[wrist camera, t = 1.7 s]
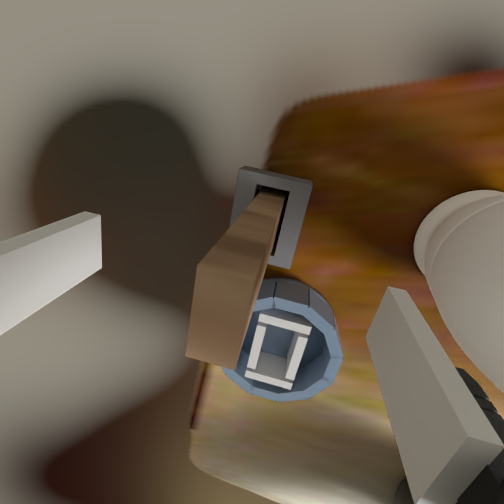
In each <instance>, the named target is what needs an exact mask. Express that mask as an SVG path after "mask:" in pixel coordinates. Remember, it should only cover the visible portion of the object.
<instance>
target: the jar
mask: <svg viewBox="0 0 504 504" xmlns="http://www.w3.org/2000/svg"><path fill="white" fill-rule="evenodd" d="M414 257H415V260H416V263H417V265H418V267H419V269H420V271H421V272H422V273H423V274H424V275H425V277H426V280H427V283H428V286H429V289H430V291H431V293H432V296H433V298H434V300H435V303H436V305H437V308H438V310H439V312H440V315H441V317H442V319H443V321H444V323H445V325H446V326H447V328H448V330H449V331H450V333H451V335H452V336H453V338H454V339H455V341H456V342H457V343H458V345H459V346H460V348H461V349H462V350H463V351H464V353H465V354H466V355H467V356H468V358H469V359H470V360H471V361H472V362H473V363H474V364H475V366H476V367H477V368H478V369H479V370H480V371H481V372H482V373H483V374H484V375H485V376H486V377H487V378H488V379H489V380H490V381H491V382H492V383H493V384H494V385H495V386H496V387H497V388H498V389H499V390H500V391H502V392H503V393H504V192H500V191H494V190H475V191H469V192H465V193H462V194H459V195H456V196H453V197H451V198H449V199H447V200H445V201H444V202H442V203H441V204H439V205H438V206H437V207H435V208H434V209H433V210H432V211H431V212H430V213H429V214H428V215H427V216H426V217H425V219H424V220H423V221H422V223H421V224H420V226H419V228H418V230H417V233H416V236H415V240H414Z"/></svg>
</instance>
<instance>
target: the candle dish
mask: <svg viewBox="0 0 504 504" xmlns="http://www.w3.org/2000/svg"><path fill="white" fill-rule="evenodd" d="M342 361H343V351H342V345H341V339H340V334H339V330H338V327H337V323H336V317H335V314H334V311H333V309H332V307H331V306H330V304H329V302H328V301H327V300H326V298H325V297H324V296H323V295H322V294H321V293H320V292H318V291H317V290H316V289H314V288H313V287H311V286H310V285H308V284H306V283H303V282H301V281H298V280H295V279H291V278H286V277H269V278H263V280H262V283H261V287H260V290H259V293H258V296H257V300H256V303H255V306H254V309H253V312H252V316H251V319H250V322H249V325H248V329H247V332H246V335H245V338H244V342H243V345H242V348H241V351H240V354H239V358H238V361H237V364H236V367H235V370H232V369H228V368H225V367H222V369H223V371H224V373H225V374H226V376H228V377H229V378H230V379H231V380H232V381H234V382H235V383H236V384H237V385H239V386H240V387H241V388H242V389H244V390H245V391H246V392H247V393H248V392H249V394H253V395H256V396H259V397H263V398H266V399H270V400H273V401H276V402H278V401H279V402H284V401H293V400H303V399H308V398H311V397H313V396H314V395H316V394H317V393H319V392H320V391H322V390H324V389H325V388H327V387H328V386H330V385H331V384H333V383H334V380H335V378H336V375H337V373H338V370H339V368H340V366H341V363H342ZM332 382H333V383H332Z"/></svg>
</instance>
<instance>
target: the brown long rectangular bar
mask: <svg viewBox="0 0 504 504" xmlns="http://www.w3.org/2000/svg"><path fill="white" fill-rule="evenodd" d="M285 197H286V194H285V193H280V192H276V191H272V190H267V189H262V190H261V191H260V193H259V194H258V195H257V196H256V197H255V198H254V200H253V201H252V202H251V203H250V204H249V205H248V207H247V208H246V209H245V210H244V211H243V212H242V214H241V215H240V216H239V217H238V218H237V220H236V221H235V222H234V223H233V224H232V225H231V227H230V228H229V229H228V230H227V231H226V232H225V234H224V235H223V236H222V237H221V238H220V239H219V241H218V242H217V243H216V244H215V245H214V246H213V248H212V249H211V250H210V251H209V252H208V254H207V255H206V256H205V257H204V258H203V259H202V261H201V262H200V263H199V264H198V265H197V271H196V278H195V286H194V293H193V301H192V309H191V316H190V324H189V332H188V340H187V347H186V354H185V356H186V357H190V358H193V359H197V360H200V361H204V362H207V363H211V364H214V365H218V366H221V367H225V368H228V369H232V370H235V367H236V364H237V361H238V358H239V354H240V351H241V348H242V345H243V342H244V338H245V335H246V332H247V329H248V325H249V322H250V319H251V316H252V312H253V309H254V306H255V303H256V300H257V296H258V293H259V290H260V287H261V283H262V280H263V277H264V274H265V270H266V267H267V264H268V261H269V257H270V254H271V251H272V248H273V245H274V241H275V238H276V234H277V230H278V226H279V222H280V217H281V213H282V209H283V205H284V201H285Z"/></svg>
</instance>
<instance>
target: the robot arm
mask: <svg viewBox="0 0 504 504" xmlns="http://www.w3.org/2000/svg"><path fill="white" fill-rule="evenodd" d="M100 268H102V250H101V216H100V215H98V214H93V213H89V212H86V211H85V212H82V213H80V214H77V215H74V216H71V217H68V218H66V219H63V220H60V221H57V222H55V223H52V224H49V225H47V226H44V227H41V228H38V229H35V230H32V231H30V232H27V233H24V234H21V235H19V236H16V237H13V238H10V239H8V240H5V241H2V242H0V335H2V334H3V333H4V332H6V331H8V330H9V329H11V328H12V327H14V326H15V325H17V324H18V323H20V322H21V321H22V320H24V319H26V318H27V317H29V316H30V315H32V314H33V313H35V312H36V311H38V310H39V309H41V308H42V307H44V306H45V305H47V304H48V303H50V302H51V301H53V300H54V299H56V298H57V297H58V296H60V295H62V294H63V293H65V292H66V291H68V290H69V289H71V288H72V287H74V286H75V285H76V284H78V283H80V282H81V281H83V280H84V279H86V278H87V277H89V276H90V275H92V274H93V273H94V272H96V271H97V270H99V269H100ZM366 340H367V344H368V347H369V351H370V354H371V358H372V361H373V364H374V368H375V371H376V375H377V378H378V382H379V385H380V388H381V392H382V395H383V399H384V402H385V406H386V409H387V412H388V416H389V419H390V423H391V426H392V430H393V433H394V436H395V440H396V443H397V447H398V450H399V454H400V457H401V460H402V464H403V467H404V471H405V474H406V479H405V480H404V481H403V482H402V483H401V485H400V486H399V488H398V490H397V493H396V504H504V420H503V418H502V417H501V416H500V415H499V414H497V412H498V411H497V410H496V408H495V407H494V405H493V404H492V402H490V401H489V398H488V397H487V395H486V394H485V392H484V391H483V389H482V388H481V386H480V385H479V384H478V383H477V382H476V381H475V380H474V379H473V378H472V377H471V376H470V375H469V374H468V373H467V372H466V371H465V370H464V369H461V368H457V367H454V365H453V364H452V362H451V360H450V359H449V357H448V356H447V354H446V353H445V351H444V349H443V348H442V346H441V345H440V343H439V342H438V340H437V338H436V337H435V335H434V334H433V332H432V330H431V329H430V327H429V326H428V324H427V323H426V321H425V319H424V318H423V316H422V315H421V313H420V312H419V310H418V308H417V307H416V305H415V304H414V302H413V301H412V299H411V297H410V296H409V294H408V293H407V291H405V290H401V289H397V288H393V287H389V286H388V287H387V290H386V292H385V294H384V296H383V299H382V301H381V303H380V305H379V307H378V310H377V312H376V314H375V316H374V319H373V321H372V323H371V325H370V328H369V330H368V332H367V334H366Z"/></svg>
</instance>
